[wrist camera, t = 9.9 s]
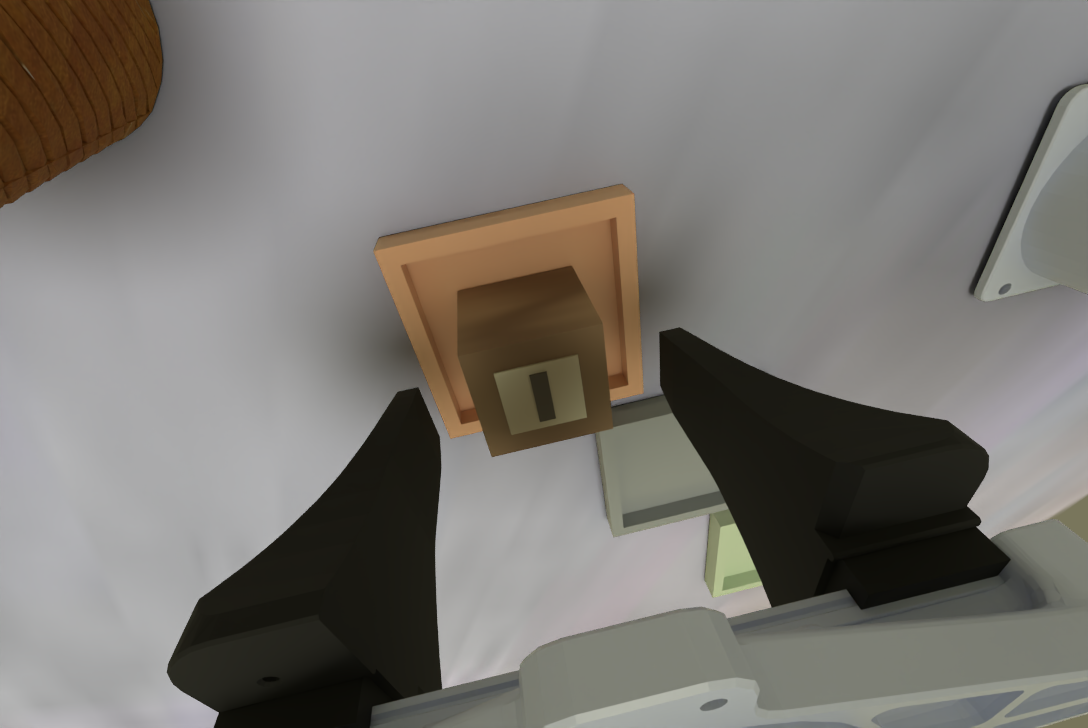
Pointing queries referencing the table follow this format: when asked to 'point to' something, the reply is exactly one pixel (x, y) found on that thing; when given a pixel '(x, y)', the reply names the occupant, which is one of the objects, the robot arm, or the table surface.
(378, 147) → the table surface
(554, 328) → the letter cube
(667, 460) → the slate dish
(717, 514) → the sage dish
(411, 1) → the table surface
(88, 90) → the disposable coffee cup
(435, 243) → the terracotta dish
